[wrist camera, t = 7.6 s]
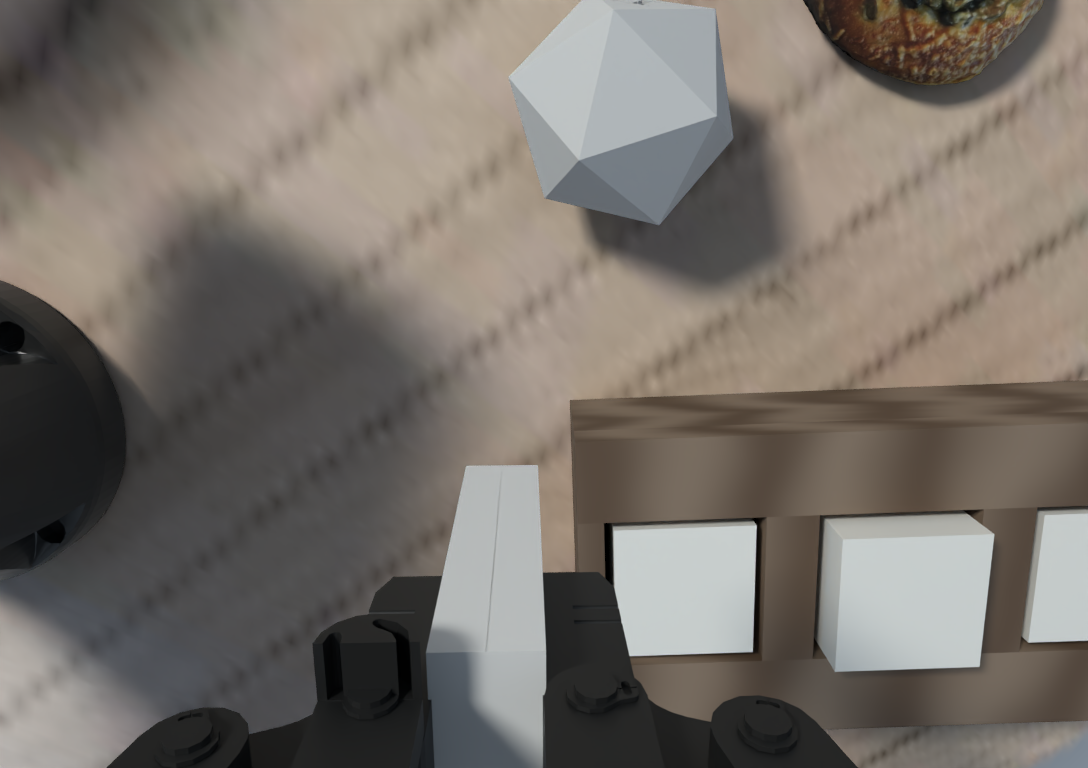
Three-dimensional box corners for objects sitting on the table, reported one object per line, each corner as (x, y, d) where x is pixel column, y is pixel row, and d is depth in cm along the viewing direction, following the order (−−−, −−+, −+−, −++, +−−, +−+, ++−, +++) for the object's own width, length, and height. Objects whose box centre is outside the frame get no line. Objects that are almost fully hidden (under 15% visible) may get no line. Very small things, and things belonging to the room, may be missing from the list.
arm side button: (610, 619, 36) (615, 656, 33) (607, 502, 35) (613, 530, 32) (735, 615, 36) (752, 652, 33) (738, 497, 34) (756, 525, 32)
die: (750, 125, 34) (769, -67, 26) (690, 284, 32) (689, 131, 23) (584, 94, 37) (550, -91, 28) (517, 240, 34) (457, 86, 26)
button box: (578, 652, 40) (584, 737, 34) (569, 400, 37) (575, 442, 31) (1086, 635, 40) (1187, 717, 34) (1124, 379, 37) (1245, 417, 30)
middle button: (810, 631, 34) (834, 671, 31) (816, 509, 33) (843, 539, 30) (942, 627, 34) (979, 666, 31) (954, 504, 33) (994, 534, 30)
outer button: (988, 606, 36) (1028, 642, 33) (1002, 488, 34) (1044, 515, 31) (1116, 601, 36) (1166, 637, 33) (1134, 483, 34) (1189, 510, 31)
